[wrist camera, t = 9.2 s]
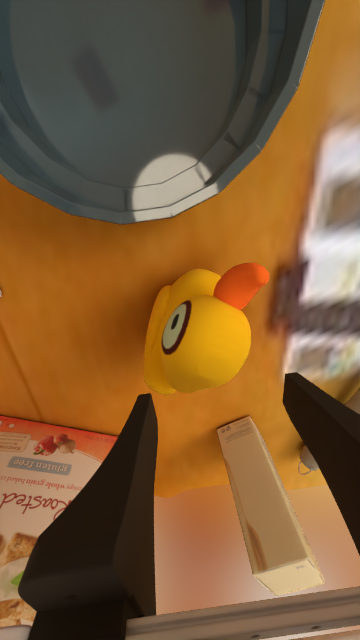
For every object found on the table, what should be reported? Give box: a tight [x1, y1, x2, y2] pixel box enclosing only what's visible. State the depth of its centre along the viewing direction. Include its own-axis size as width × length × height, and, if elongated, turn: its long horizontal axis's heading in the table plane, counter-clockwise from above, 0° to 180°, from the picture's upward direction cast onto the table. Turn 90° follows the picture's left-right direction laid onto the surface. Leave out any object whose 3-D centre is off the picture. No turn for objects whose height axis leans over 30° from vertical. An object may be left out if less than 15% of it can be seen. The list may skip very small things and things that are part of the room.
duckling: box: [144, 263, 269, 395], centre depth 16 cm, size 11×5×10 cm, turn 151°
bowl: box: [0, 0, 325, 225], centre depth 11 cm, size 17×17×5 cm
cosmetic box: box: [217, 416, 325, 596], centre depth 23 cm, size 6×4×12 cm
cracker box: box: [0, 415, 118, 627], centre depth 18 cm, size 14×6×21 cm, turn 70°
